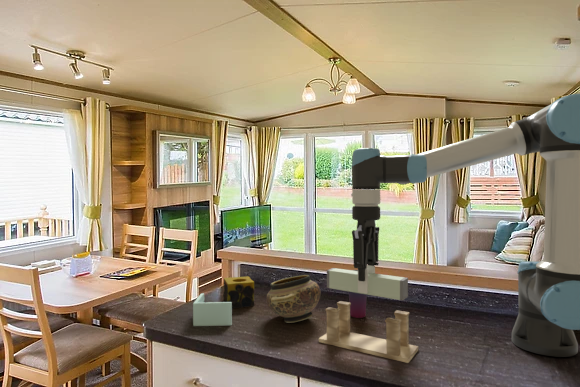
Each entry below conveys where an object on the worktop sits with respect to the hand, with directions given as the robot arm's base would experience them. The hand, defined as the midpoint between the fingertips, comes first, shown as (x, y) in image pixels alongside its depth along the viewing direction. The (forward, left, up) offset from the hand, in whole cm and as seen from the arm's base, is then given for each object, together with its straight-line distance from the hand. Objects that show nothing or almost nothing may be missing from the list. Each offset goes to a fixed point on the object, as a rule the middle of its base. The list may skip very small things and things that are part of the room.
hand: (366, 290), depth 105 cm
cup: (+12, -21, -15) cm, 28 cm away
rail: (0, 0, 0) cm, 1 cm away
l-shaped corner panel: (+50, +7, -15) cm, 53 cm away
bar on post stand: (0, +1, -15) cm, 15 cm away
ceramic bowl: (+28, -6, -15) cm, 32 cm away
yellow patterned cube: (+54, -9, -15) cm, 57 cm away
